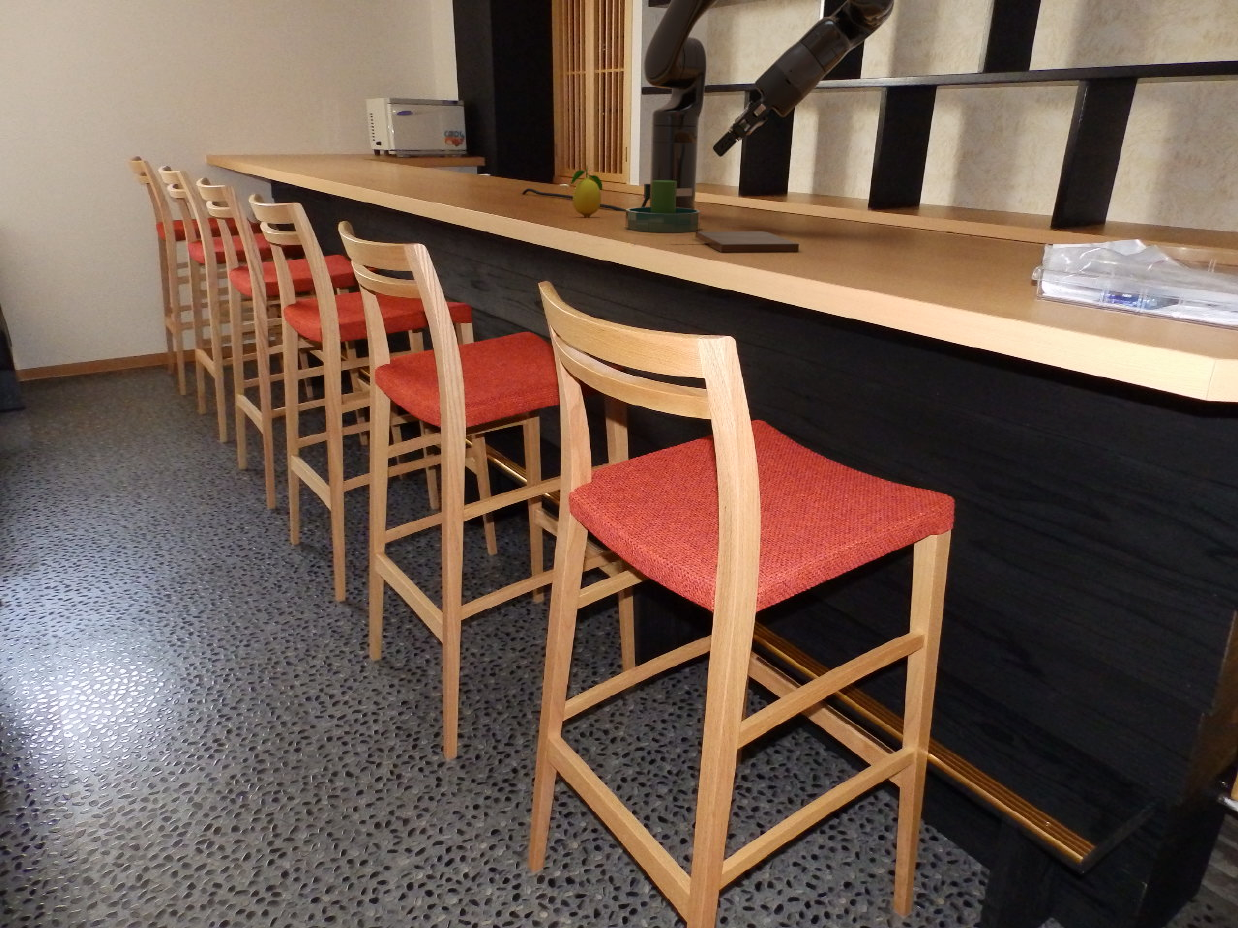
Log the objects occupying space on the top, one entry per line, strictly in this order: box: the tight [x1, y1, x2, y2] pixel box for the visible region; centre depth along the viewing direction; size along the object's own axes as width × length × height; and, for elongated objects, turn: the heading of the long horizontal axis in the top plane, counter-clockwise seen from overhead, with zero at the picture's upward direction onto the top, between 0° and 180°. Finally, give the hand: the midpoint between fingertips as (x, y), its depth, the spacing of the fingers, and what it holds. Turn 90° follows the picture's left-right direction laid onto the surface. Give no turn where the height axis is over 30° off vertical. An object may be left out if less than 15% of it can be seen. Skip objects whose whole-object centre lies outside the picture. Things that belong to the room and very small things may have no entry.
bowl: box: [624, 206, 702, 234], centre depth 149 cm, size 13×13×4 cm
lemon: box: [570, 165, 603, 218], centre depth 165 cm, size 7×6×10 cm
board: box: [695, 230, 800, 253], centre depth 132 cm, size 16×12×1 cm
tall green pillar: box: [651, 180, 677, 214], centre depth 148 cm, size 4×4×8 cm
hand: (716, 152), depth 144 cm, fingers open, 8 cm apart
